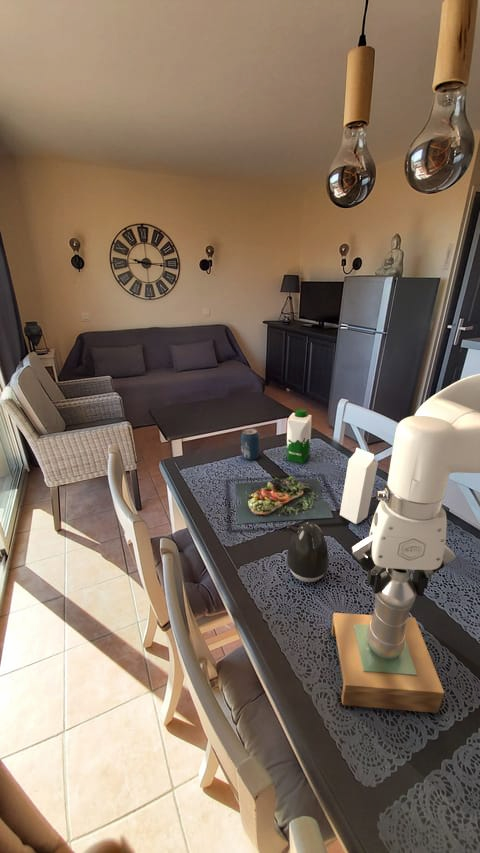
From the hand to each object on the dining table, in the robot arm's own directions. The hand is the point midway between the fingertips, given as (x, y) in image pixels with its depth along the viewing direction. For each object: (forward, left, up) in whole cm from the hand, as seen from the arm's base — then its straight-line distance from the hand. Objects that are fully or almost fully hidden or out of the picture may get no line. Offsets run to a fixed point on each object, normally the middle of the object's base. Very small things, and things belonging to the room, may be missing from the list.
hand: (395, 587), depth 60 cm
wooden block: (0, 0, -21) cm, 21 cm away
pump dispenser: (+12, -23, -22) cm, 34 cm away
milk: (-4, -46, -21) cm, 51 cm away
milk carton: (+11, -82, -22) cm, 86 cm away
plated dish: (+18, -53, -22) cm, 60 cm away
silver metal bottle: (0, 0, -15) cm, 15 cm away
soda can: (+30, -82, -22) cm, 90 cm away
